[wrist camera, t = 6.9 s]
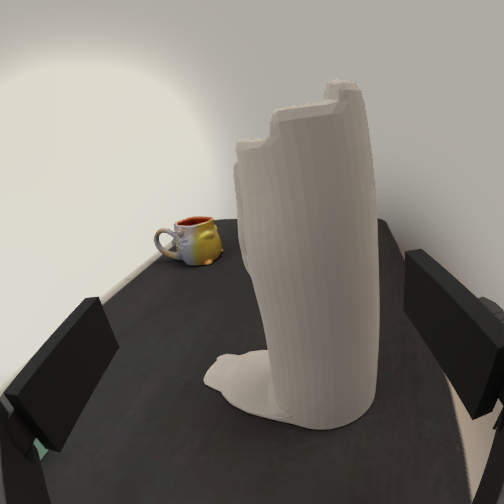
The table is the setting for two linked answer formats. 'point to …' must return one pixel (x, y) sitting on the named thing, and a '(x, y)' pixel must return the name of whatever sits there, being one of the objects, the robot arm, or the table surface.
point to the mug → (193, 241)
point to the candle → (309, 265)
